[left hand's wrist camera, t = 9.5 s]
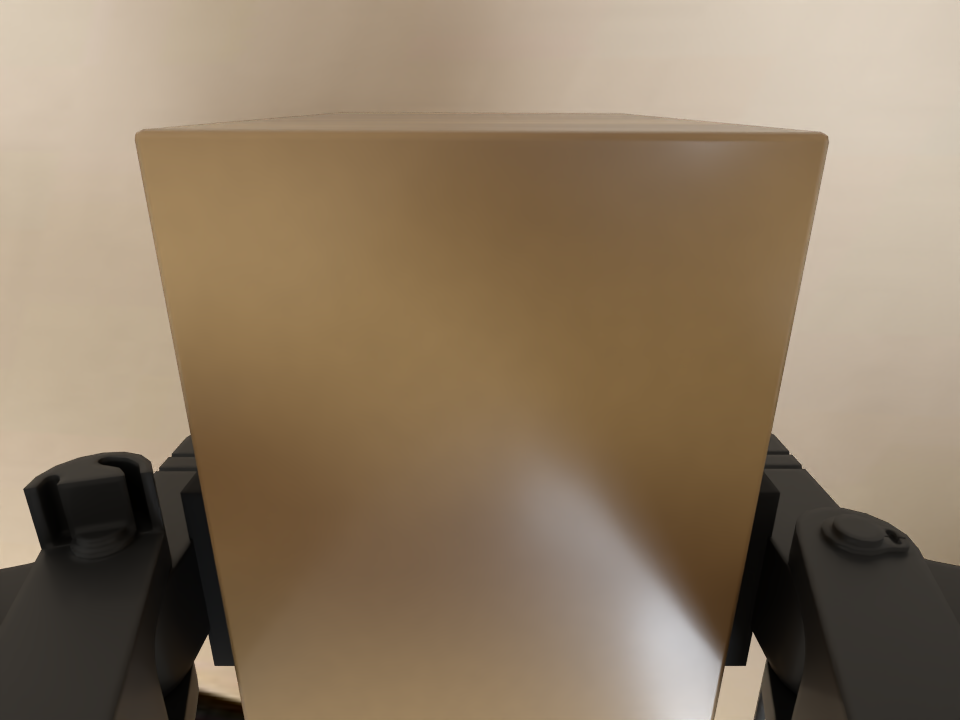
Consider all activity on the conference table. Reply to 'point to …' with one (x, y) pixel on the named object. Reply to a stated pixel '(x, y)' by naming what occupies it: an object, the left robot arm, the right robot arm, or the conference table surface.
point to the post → (480, 399)
